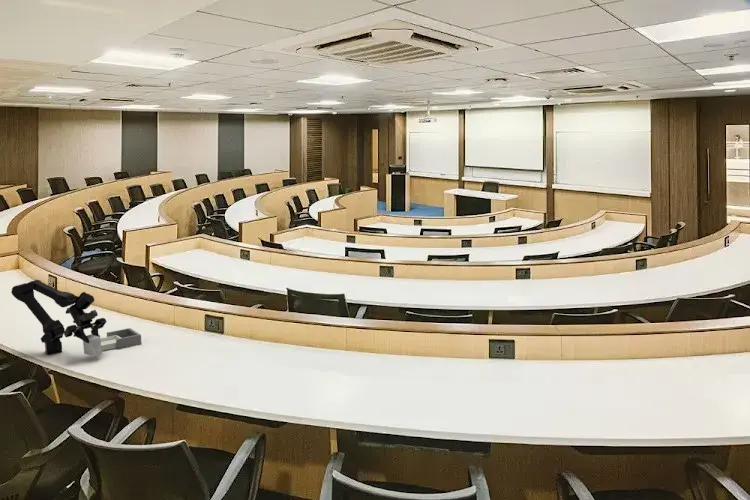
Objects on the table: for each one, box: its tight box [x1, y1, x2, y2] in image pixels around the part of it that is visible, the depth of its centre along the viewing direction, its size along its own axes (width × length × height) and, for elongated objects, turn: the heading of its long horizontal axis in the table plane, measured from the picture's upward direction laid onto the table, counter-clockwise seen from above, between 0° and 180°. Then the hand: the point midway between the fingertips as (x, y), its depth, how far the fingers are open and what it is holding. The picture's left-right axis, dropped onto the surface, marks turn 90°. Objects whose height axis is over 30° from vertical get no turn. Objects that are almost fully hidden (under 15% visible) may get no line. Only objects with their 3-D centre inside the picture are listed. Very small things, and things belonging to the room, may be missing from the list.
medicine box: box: [82, 334, 103, 358], centre depth 266 cm, size 8×4×9 cm, turn 58°
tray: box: [90, 332, 121, 352], centre depth 284 cm, size 13×13×8 cm
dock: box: [106, 327, 142, 350], centre depth 290 cm, size 12×16×5 cm
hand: (93, 341), depth 265 cm, fingers closed on medicine box, 4 cm apart
